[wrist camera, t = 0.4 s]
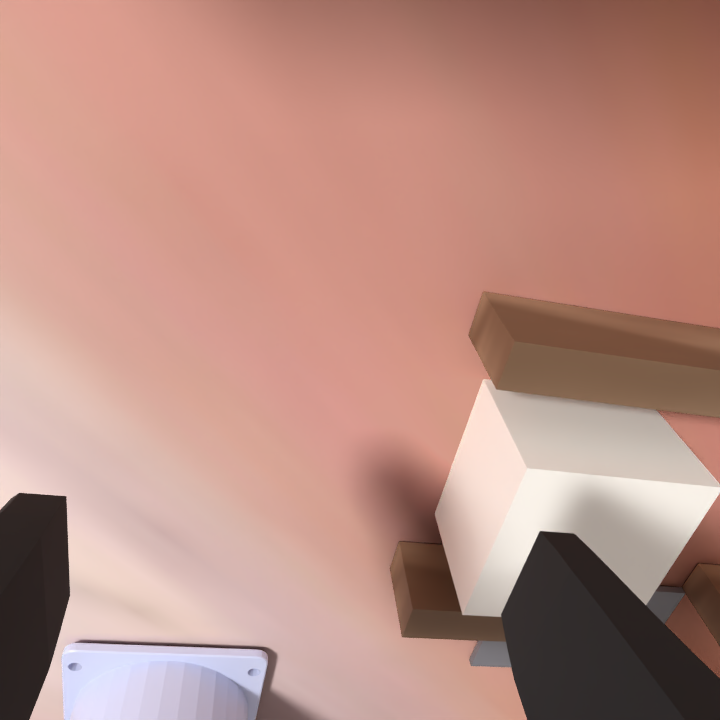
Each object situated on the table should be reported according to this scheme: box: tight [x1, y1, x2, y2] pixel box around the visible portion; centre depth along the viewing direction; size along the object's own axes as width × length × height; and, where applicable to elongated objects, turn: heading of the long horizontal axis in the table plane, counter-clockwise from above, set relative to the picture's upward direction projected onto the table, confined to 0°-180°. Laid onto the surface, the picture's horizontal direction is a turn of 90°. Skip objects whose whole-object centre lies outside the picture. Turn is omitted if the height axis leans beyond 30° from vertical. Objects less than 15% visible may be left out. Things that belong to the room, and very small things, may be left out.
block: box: [435, 379, 720, 617], centre depth 21 cm, size 6×6×4 cm
